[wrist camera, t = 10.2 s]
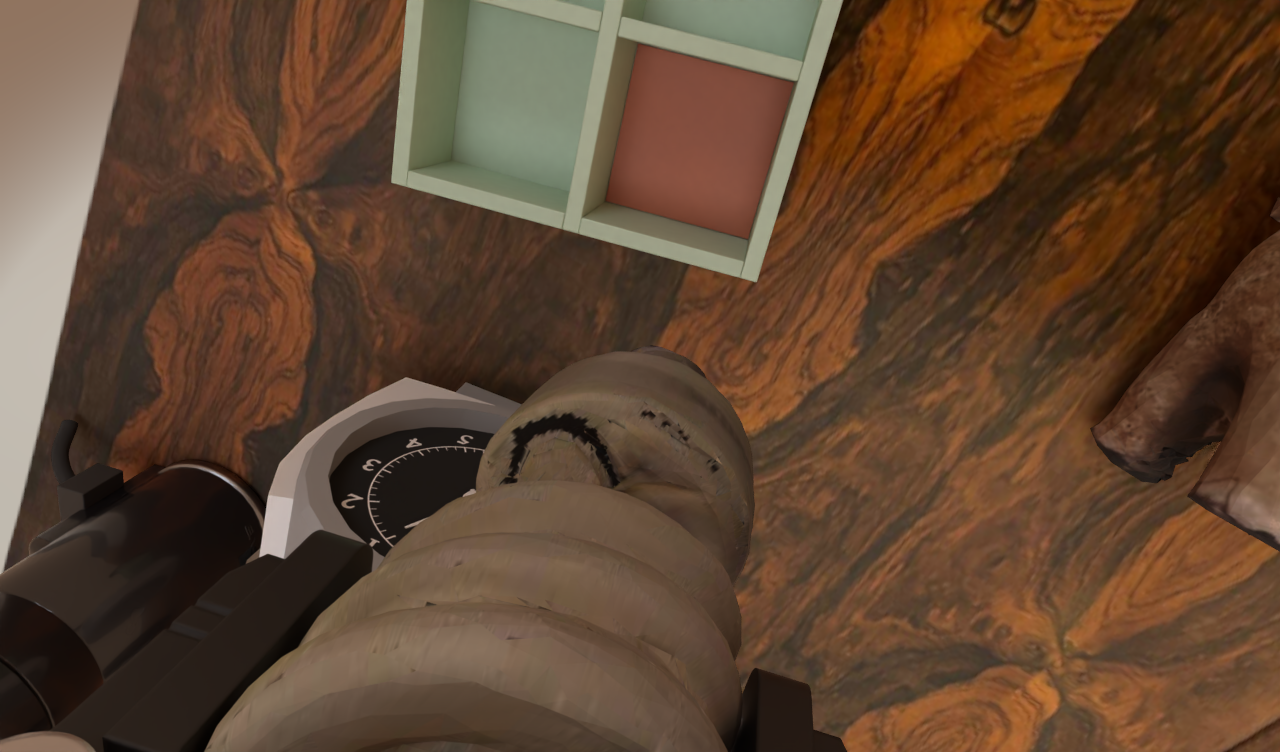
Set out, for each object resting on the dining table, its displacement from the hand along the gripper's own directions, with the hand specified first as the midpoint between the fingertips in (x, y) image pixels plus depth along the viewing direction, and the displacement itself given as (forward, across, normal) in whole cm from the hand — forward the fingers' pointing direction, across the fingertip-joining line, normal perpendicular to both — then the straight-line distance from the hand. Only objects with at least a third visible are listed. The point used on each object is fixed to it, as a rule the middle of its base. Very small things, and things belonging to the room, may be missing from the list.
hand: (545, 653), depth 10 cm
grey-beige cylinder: (+11, 0, 0) cm, 11 cm away
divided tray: (+31, +6, -8) cm, 33 cm away
